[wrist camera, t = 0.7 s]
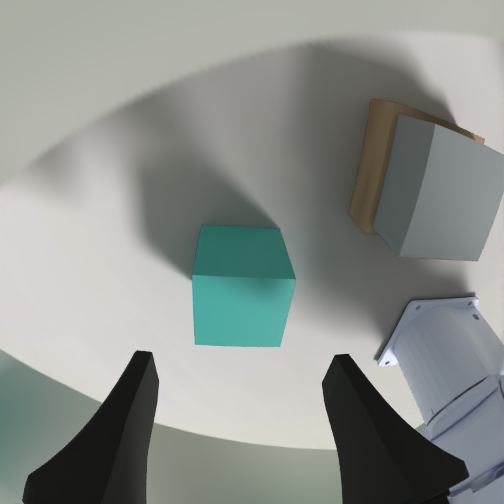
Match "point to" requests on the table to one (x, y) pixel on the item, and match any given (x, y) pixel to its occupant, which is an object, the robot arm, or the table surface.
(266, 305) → the teal block
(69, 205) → the table surface
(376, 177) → the walnut slab
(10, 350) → the table surface
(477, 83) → the table surface
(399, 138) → the slate slab
